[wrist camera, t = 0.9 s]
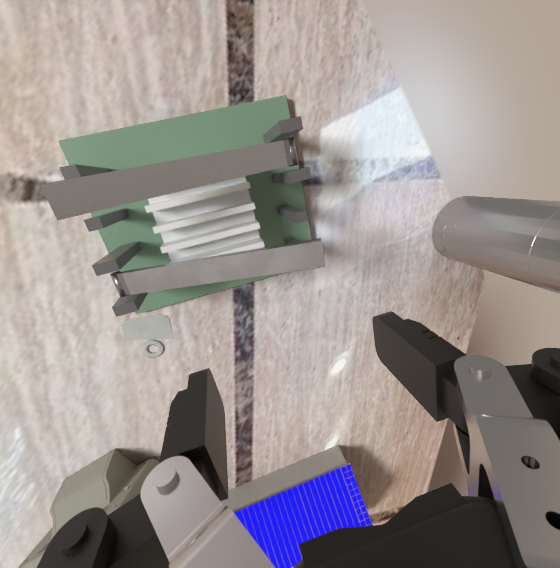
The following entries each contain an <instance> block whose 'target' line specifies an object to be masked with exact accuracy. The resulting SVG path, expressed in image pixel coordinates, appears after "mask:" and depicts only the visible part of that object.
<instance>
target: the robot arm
mask: <svg viewBox="0 0 560 568" xmlns="http://www.w3.org/2000/svg"><path fill="white" fill-rule="evenodd" d="M433 242H434V245H435V248H436V249H437V251H438V252H439V253H440V254H441V255H443V256H445V257H447V258H450V259H453V260H456V261H460V262H463V263H466V264H468V265H472V266H475V267H478V268H481V269H484V270H487V271H490V272H494V273H497V274H500V275H503V276H506V277H509V278H513V279H516V280H519V281H522V282H525V283H528V284H531V285H534V286H537V287H541V288H544V289H547V290H550V291H553V292H556V293H560V201H543V200H526V199H507V198H492V197H475V196H463V197H459V198H457V199H455V200H453V201H451V202H450V203H448V204H447V205H446V206H445V207H444V208H443V209H442V211H441V212H440V214H439V215H438V217H437V219H436V222H435V225H434V228H433ZM373 330H374V338H375V347H376V352H377V354H378V357H379V359H380V360H381V362H382V363H383V364H384V365H385V366H386V367H387V368H388V369H389V371H390V372H391V373H392V374H393V375H394V376H395V377H396V378H397V379H398V380H399V381H400V382H401V384H402V385H403V386H404V387H405V388H406V389H407V390H408V391H409V392H410V393H411V394H412V395H413V396H414V398H415V399H416V400H417V401H418V402H419V403H420V404H421V405H422V406H423V407H424V408H425V409H426V410H427V412H428V413H429V414H430V415H431V416H432V417H433V418H434V419H435V420H436V421H437V422H438V421H441V420H444V419H446V418H450V419H451V420H452V421H453V422H454V433H455V437H456V442H457V446H458V450H459V454H460V458H461V462H462V466H463V470H464V475H465V479H466V483H467V489H468V496H461V495H460V493H459V492H458V491H457V490H456V488H455V487H454V486H453V485H452V484H451V483H450V484H448V485H445V486H443V487H440V488H438V489H435V490H433V491H430V492H428V493H425V494H423V495H420V496H418V497H416V498H414V499H413V500H412V501H411V502H410V503H409V504H407V505H406V506H405V507H404V508H403V509H402V510H401V511H399V512H398V513H397V514H396V515H395V516H394V517H392V518H391V519H390V520H389V521H388V522H386V523H385V524H383V525H376V526H363V527H350V528H338V529H336V530H333V531H331V532H328V533H326V534H323V535H321V536H318V537H316V538H313V539H311V540H308V541H306V542H303V543H301V544H299V546H300V550H301V555H302V560H301V561H300V562H299V563H298V564H297V565H295V566H294V567H293V568H560V348H544V349H540V350H537V351H536V352H534V354H533V356H532V363H531V364H526V365H513V366H504V365H503V364H502V363H500V362H498V361H497V360H495V359H492V358H489V357H486V356H481V355H466V354H465V353H463V352H462V351H460V350H459V349H457V348H456V347H454V346H453V345H452V344H450V343H449V342H447V341H446V340H444V339H443V338H441V337H438V335H437V334H435V333H434V332H433V331H430V329H428V328H427V327H425V326H424V325H422V324H421V323H419V322H416V321H412V320H409V319H405V320H403V319H402V318H400V317H399V316H398V315H396V314H395V313H394V312H387V313H384V314H381V315H378V316H375V317H373ZM226 499H228V476H227V453H226V430H225V412H224V406H223V402H222V399H221V396H220V394H219V391H218V389H217V386H216V383H215V381H214V378H213V375H212V373H211V371H210V369H209V368H208V369H205V370H202V371H199V372H195V373H192V374H190V375H189V380H188V387H187V389H186V390H183V391H179V392H178V393H177V395H176V397H175V398H174V400H173V401H172V403H171V406H170V411H169V417H168V422H167V427H166V432H165V437H164V442H163V447H162V452H161V457H160V462H159V464H158V465H157V466H156V467H155V468H154V469H153V470H152V471H151V472H150V473H149V475H148V476H147V477H146V479H145V481H144V483H143V485H142V488H141V493H139V494H138V495H137V496H136V497H134V498H133V499H131V500H130V501H128V502H127V503H125V504H124V505H122V506H121V507H119V508H118V509H116V510H115V511H113V512H112V513H110V514H109V515H107V513H106V512H105V511H104V510H103V509H102V508H98V507H93V508H89V509H86V510H84V511H82V512H80V513H78V514H77V515H75V516H74V517H73V518H71V519H70V520H69V521H68V522H66V523H65V524H64V525H63V526H62V527H61V528H60V529H59V531H58V532H57V533H56V534H55V535H54V537H53V538H52V540H51V541H50V543H49V544H48V546H47V548H46V550H45V552H44V554H43V556H42V558H41V560H40V562H39V564H38V566H37V568H275V566H274V565H273V564H272V562H271V561H270V560H269V559H268V557H267V556H266V555H265V553H264V552H263V551H262V549H261V548H260V547H259V545H258V544H257V543H256V541H255V540H254V539H253V537H252V536H251V535H250V533H249V532H248V531H247V530H246V528H245V527H244V526H243V524H242V523H241V522H240V520H239V519H238V518H237V516H236V515H235V514H234V512H233V511H232V510H231V509H230V508H229V507H228V506H227V505H226V506H224V505H223V504H222V503H221V501H223V500H226Z"/></svg>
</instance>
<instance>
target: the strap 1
mask: <svg viewBox="0 0 560 568" xmlns="http://www.w3.org/2000/svg"><path fill="white" fill-rule="evenodd" d="M295 165H299V163H298V157H297V152H296V146H295V140H294V137H291V138H287V139H284V140H282V141H276V142H271V143H265V144H260V145H254V146H249V147H243V148H238V149H232V150H227V151H221V152H216V153H210V154H205V155H199V156H194V157H188V158H183V159H177V160H172V161H166V162H161V163H155V164H150V165H144V166H139V167H133V168H128V169H122V170H117V171H111V172H106V173H100V174H95V175H89V176H84V177H78V178H73V179H67V180H62V181H56V182H51V183H45V184H40V186H41V188H42V190H43V192H44V194H45V196H46V198H47V200H48V202H49V204H50V206H51V208H52V210H53V212H54V214H55V216H56V218H57V220H61V219H65V218H69V217H73V216H78V215H82V214H86V213H90V212H95V211H99V210H103V209H107V208H112V207H116V206H120V205H124V204H129V203H133V202H137V201H141V200H146V199H150V198H154V197H158V196H163V195H167V194H171V193H175V192H180V191H184V190H188V189H192V188H197V187H201V186H205V185H209V184H214V183H218V182H222V181H226V180H231V179H235V178H239V177H243V176H248V175H252V174H256V173H260V172H265V171H269V170H273V169H277V168H282V167H286V166H290V167H291V166H295Z"/></svg>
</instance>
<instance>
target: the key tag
mask: <svg viewBox="0 0 560 568" xmlns="http://www.w3.org/2000/svg"><path fill="white" fill-rule="evenodd" d="M121 326H122V329H123V332H124V336H125V339H126V340H141V339H169V338H174V337H173V333H172V329H171V324H170V320H169V317H168V316H166V315H156V316H150V317H144V318H137V319H131V320H126V321H124V322H123V323H122V325H121ZM150 345H156V346H157V347H158V351H157V352H156V353H150V352H149V351H148V349H147V348H148V346H150ZM142 351H143V353H144V354H145V355H146V356H147V357H151V358H155V357H158V356H160V355H161V354H162V353H163V351H164V346H163V344H162V343H161V342H160V341H158V340H148V341H146V342H145V343H144V344H143V346H142Z"/></svg>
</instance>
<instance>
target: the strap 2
mask: <svg viewBox="0 0 560 568" xmlns="http://www.w3.org/2000/svg"><path fill="white" fill-rule="evenodd" d="M320 267H325V260H324V254H323V248H322V242H321V238H318V239H312V240H306V241H300V242H294V243H288V244H282V245H276V246H270V247H264V248H258V249H253V250H247V251H241V252H235V253H229V254H223V255H217V256H211V257H205V258H199V259H193V260H187V261H181V262H175V263H169V264H163V265H157V266H151V267H145V268H139V269H133V270H127V271H123V272H120V271H115V272H113V273H111V274H110V275H111V278H112V280H113V282H114V284H115V286H116V288H117V291H118V293H119V295H120V297H125V296H128V295H133V294H140V293H147V292H154V291H161V290H168V289H175V288H182V287H189V286H196V285H202V284H209V283H216V282H223V281H230V280H237V279H244V278H251V277H258V276H265V275H272V274H279V273H286V272H293V271H300V270H306V269H313V268H320Z"/></svg>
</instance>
